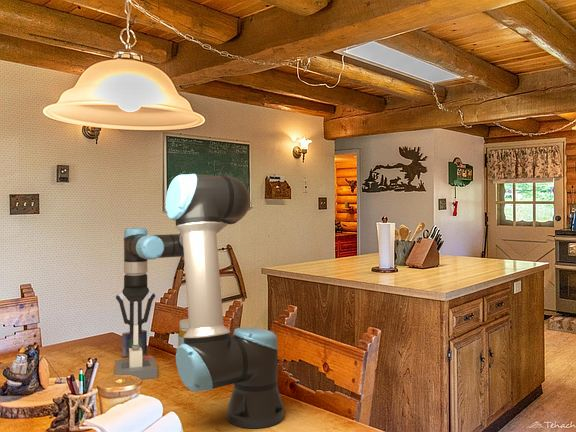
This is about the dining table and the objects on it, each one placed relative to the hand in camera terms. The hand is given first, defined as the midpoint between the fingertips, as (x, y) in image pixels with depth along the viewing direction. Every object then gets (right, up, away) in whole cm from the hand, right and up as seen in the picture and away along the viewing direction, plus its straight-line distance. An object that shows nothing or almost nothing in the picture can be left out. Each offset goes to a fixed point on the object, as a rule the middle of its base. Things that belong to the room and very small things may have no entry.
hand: (135, 343), depth 167 cm
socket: (0, -10, 0) cm, 10 cm away
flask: (-7, -10, +21) cm, 24 cm away
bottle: (+15, -10, +13) cm, 22 cm away
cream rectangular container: (0, -10, 0) cm, 10 cm away
